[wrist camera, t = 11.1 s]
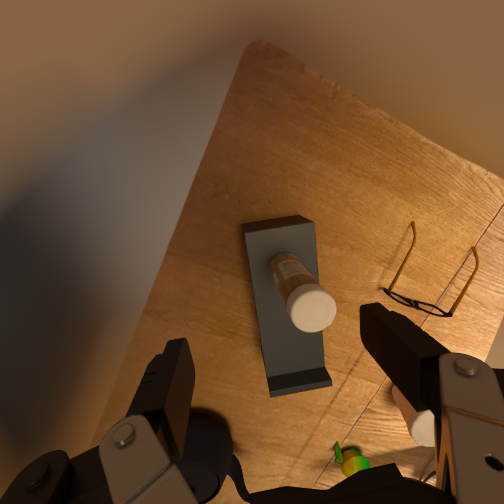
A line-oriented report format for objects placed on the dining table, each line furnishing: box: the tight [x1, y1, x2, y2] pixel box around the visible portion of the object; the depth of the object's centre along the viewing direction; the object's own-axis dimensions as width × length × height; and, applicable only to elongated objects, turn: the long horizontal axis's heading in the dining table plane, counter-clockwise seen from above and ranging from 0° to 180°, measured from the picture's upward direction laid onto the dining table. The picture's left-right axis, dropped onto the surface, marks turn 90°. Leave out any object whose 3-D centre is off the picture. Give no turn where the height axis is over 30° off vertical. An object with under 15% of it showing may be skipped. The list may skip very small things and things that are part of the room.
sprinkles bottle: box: [269, 253, 336, 332], centre depth 30 cm, size 5×5×13 cm
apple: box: [335, 442, 370, 478], centre depth 56 cm, size 7×6×9 cm
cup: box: [391, 384, 435, 447], centre depth 51 cm, size 10×10×9 cm
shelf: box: [242, 215, 332, 398], centre depth 41 cm, size 26×10×11 cm, turn 8°
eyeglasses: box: [383, 221, 479, 317], centre depth 45 cm, size 14×14×4 cm
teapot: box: [174, 414, 250, 504], centre depth 48 cm, size 25×16×12 cm, turn 63°
